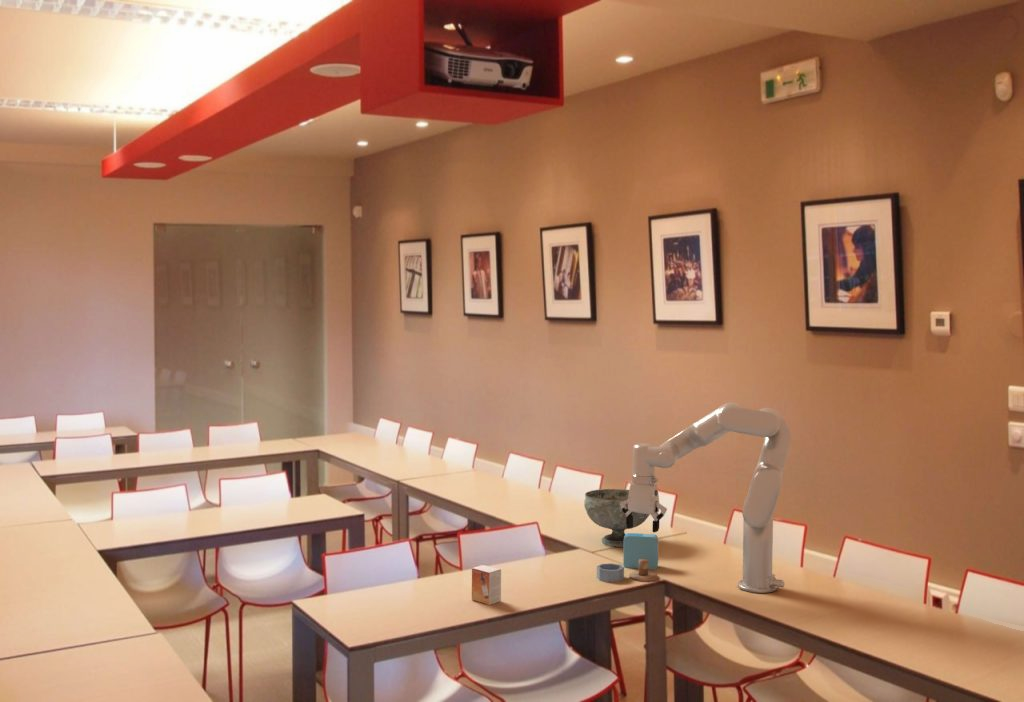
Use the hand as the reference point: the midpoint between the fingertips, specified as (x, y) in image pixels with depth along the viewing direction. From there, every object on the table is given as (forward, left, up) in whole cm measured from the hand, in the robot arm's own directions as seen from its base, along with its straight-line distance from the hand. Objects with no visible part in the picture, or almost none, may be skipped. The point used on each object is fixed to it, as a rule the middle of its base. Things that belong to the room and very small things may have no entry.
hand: (642, 529), depth 335 cm
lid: (0, 0, -17) cm, 17 cm away
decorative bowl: (+31, -40, -17) cm, 53 cm away
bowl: (+9, +7, -17) cm, 20 cm away
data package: (+7, -12, -18) cm, 22 cm away
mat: (0, 0, -17) cm, 17 cm away
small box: (+31, +49, -17) cm, 60 cm away
